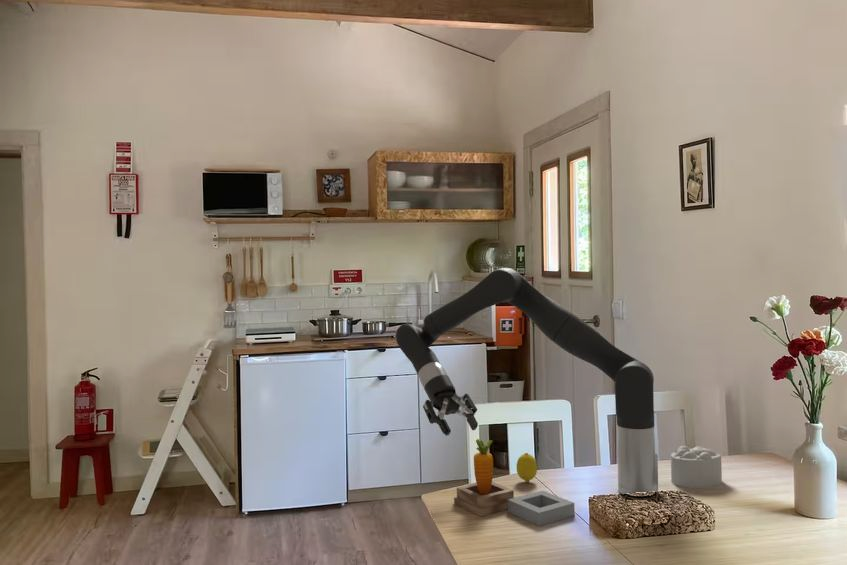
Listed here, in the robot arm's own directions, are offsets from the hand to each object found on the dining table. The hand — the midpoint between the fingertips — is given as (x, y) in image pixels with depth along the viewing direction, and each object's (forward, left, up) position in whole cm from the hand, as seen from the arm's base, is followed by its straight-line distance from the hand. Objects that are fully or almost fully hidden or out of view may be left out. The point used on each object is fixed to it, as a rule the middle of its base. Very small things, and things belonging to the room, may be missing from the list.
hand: (462, 431), depth 175 cm
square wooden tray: (+1, +11, -16) cm, 19 cm away
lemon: (-19, +3, -16) cm, 25 cm away
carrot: (+1, +10, -15) cm, 18 cm away
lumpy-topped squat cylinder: (-55, +29, -16) cm, 64 cm away
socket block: (-6, +23, -16) cm, 29 cm away
